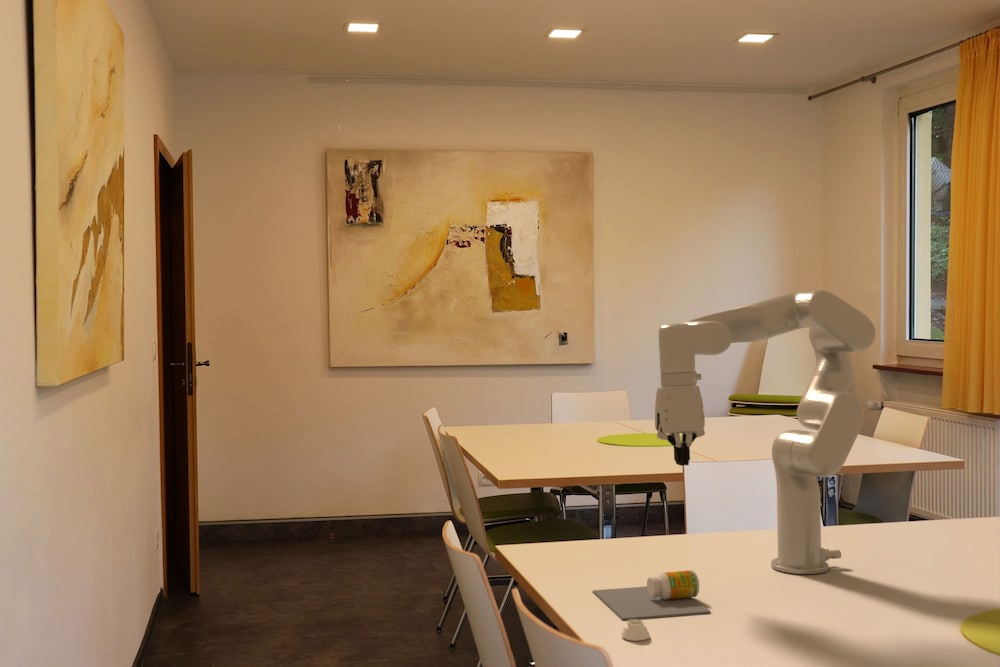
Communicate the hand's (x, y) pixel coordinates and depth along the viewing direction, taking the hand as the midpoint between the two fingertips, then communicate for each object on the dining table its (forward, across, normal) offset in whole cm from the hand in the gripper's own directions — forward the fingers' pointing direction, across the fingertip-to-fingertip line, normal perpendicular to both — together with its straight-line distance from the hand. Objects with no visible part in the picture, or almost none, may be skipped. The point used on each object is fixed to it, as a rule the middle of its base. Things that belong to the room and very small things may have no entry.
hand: (682, 464), depth 207 cm
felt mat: (+26, +14, +11) cm, 31 cm away
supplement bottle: (+23, +3, +11) cm, 25 cm away
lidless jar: (+25, +24, +30) cm, 46 cm away
